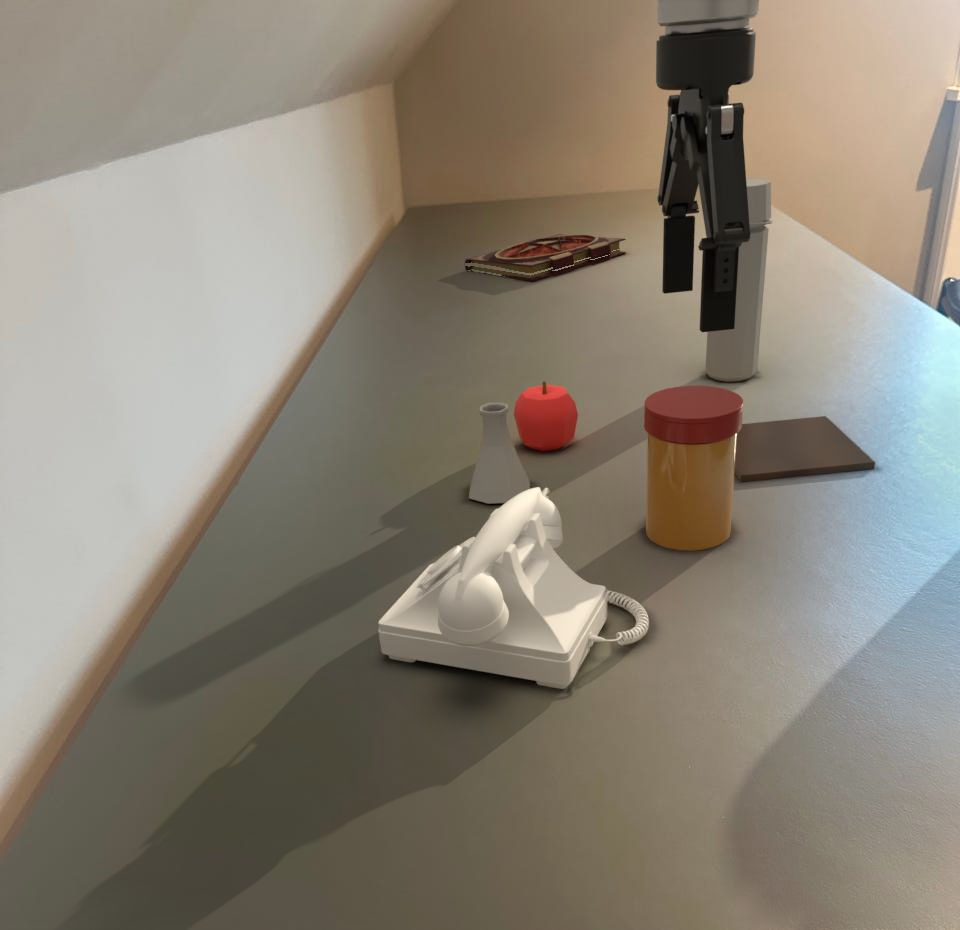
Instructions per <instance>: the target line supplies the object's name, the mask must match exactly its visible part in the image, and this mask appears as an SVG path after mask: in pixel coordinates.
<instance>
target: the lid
mask: <svg viewBox="0 0 960 930" xmlns="http://www.w3.org/2000/svg"><path fill="white" fill-rule="evenodd" d="M744 402H745V401H744V398H743V397H742V396H741V395H740V394H739V393H737V392H735V391H732V390H729V389H727V388H723V387H717V386H709V385H682V386H674V387H668V388H664V389H661V390H658V391H655V392H653V393H651V394H650V395H648V396H647V397H646V398H645V400H644V409H643V412H644V414H643V417H644V418H643V427H644V428H643V429H644V431H646V433H647V435H648V434H650V435H652V436H653V437H656V438H658V439H661V440H665V441H670V442H675V443H693V444H696V443H708V442H715V441H719V440H723V439H726V438H729V437H731V436H733V435H735V434H736V433H738V432H739V431H740V429H741V427H742V424H743V413H744Z"/></svg>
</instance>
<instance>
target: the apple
mask: <svg viewBox="0 0 960 930" xmlns="http://www.w3.org/2000/svg"><path fill="white" fill-rule="evenodd" d="M576 404H577V403H576V401H575V400H574V399H573V398H572V396H571V395H570V394H569V392H568V390H567V389H566V388H565V386H560V385H552V384H547V381H545V380H543V381H542V385H536V386H531V387H529V388H527V389H525V390H523V391H522V392H521V393H520V395H519V397H518V398H517V399H516V401H515V404H514V410H513V417H514V420H515V421H514V422H515V424H516V429H517V432H518V436H519V439H520V441H521V442H522V444H523V445H525V446H527V447H528V448H530V449H532V450H535V451H540V452H543V453H544V452H549V451H555V450H559V449H560V448H563V447H564V446H566V445H567V444H568V443H569V442H571V441H572V440H573V439H574V438H575V435H576V428H577V424H578V423H577V422H578V416H579V413H578V409H577V405H576Z"/></svg>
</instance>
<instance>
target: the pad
mask: <svg viewBox="0 0 960 930" xmlns="http://www.w3.org/2000/svg"><path fill="white" fill-rule="evenodd" d="M875 467H876V462H875V460H873V458H871V457H870V456H869V455H868V454H867V453H866V452H865V451H864V450H863V449H862V448H861V447H859V446H858V445H857V443H856V442H854V441H853V440H852V439H851V438H850V437H849V436H848V435H847V434H845V432H844V431H842V429H840V428H839V427H838V426H837V424H835V423H833V421H832V420H830V418H828V417H827V416H826V415H822V416H821V415H820V416H812V417H810V416H809V417H802V418H801V417H800V418H791V419H781V420H771V421H761V422H760V421H759V422H749V423H742V427H741V429H740V431H739V432H738V433H737V447H736V461H735V477H737V479H738V480H739V481H740V482H741V483H742V482H753V481H764V480H773V479H783V478H793V477H803V476H812V475H823V474H824V475H825V474H833V473H844V472H845V473H846V472H853V471H854V472H855V471H863V470H864V471H865V470H873V469H875Z"/></svg>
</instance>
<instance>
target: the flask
mask: <svg viewBox="0 0 960 930" xmlns="http://www.w3.org/2000/svg"><path fill="white" fill-rule="evenodd" d="M508 413H509V404H508V403H504V402H487V403H485V404H482V405H481V406H479V415H480V416H481V417H482V426H483V427H482V440H481V443H480V448H479V451H478V457H477V460H476V464H475V468H474V471H473V475H472V478H471V482H470V485H469V493H468V499H470V500H473V501H477V502H481V503H484V504H488V505H490V504H505V503H506V502H507V501H509V500H510V499H512V498H513V497H515V496H516V495H518V494H520V493H521V492H523V491H526V490H528V489H531V481H530V479H529V477H528V475H527V473H526V470H525V468H524V465H523V464H522V462H521V460H520V457H519V456H518V453H517V450H516V447H515V446H514V443H513V441H512V438H511V435H510V434H511V433H510V431H509V428H508V422H507V421H508V420H507V414H508Z"/></svg>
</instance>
